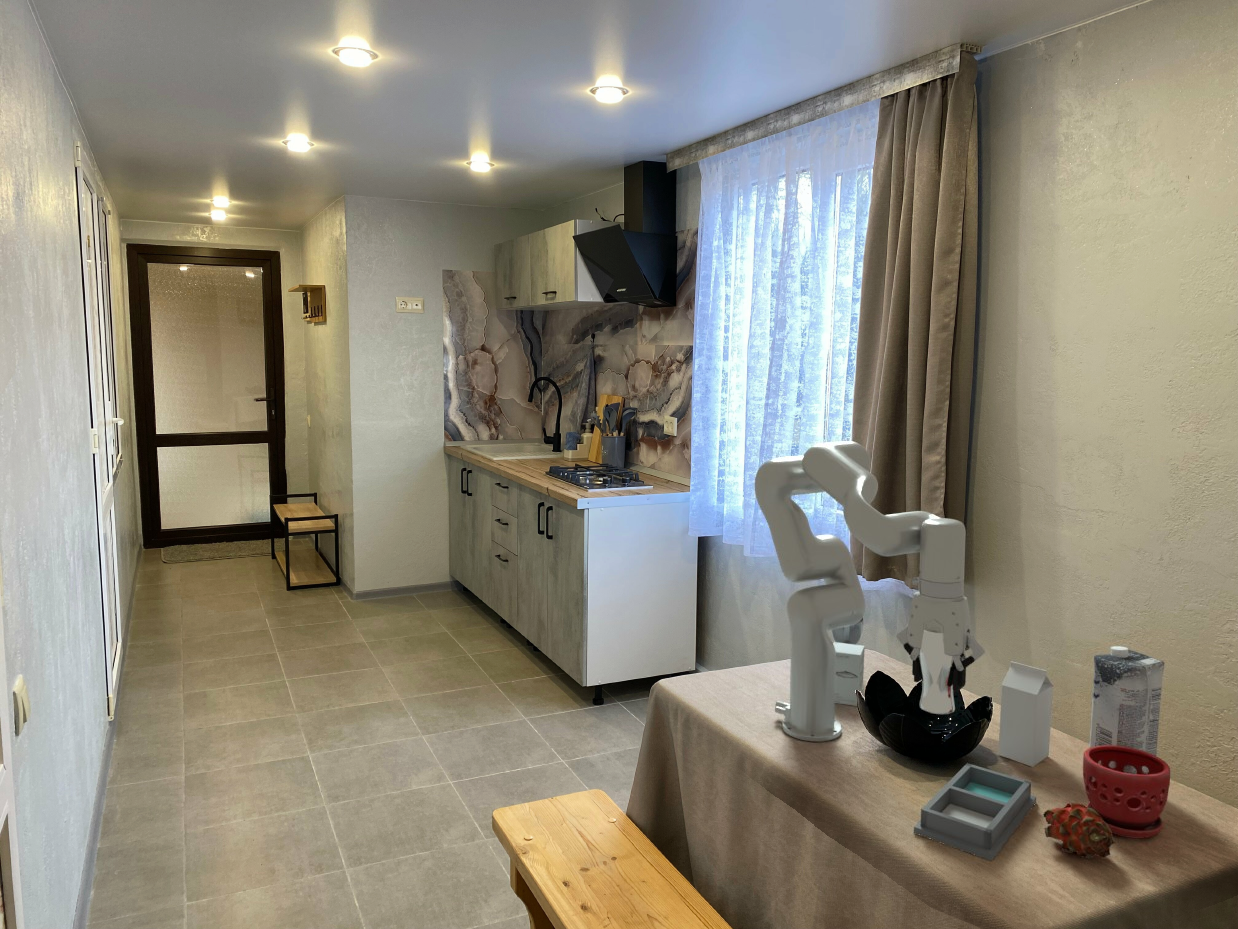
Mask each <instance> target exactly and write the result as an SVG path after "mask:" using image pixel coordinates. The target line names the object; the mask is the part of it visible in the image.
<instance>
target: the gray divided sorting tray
mask: <svg viewBox="0 0 1238 929" xmlns="http://www.w3.org/2000/svg"><path fill="white" fill-rule="evenodd" d="M1035 803H1036V804H1037V796H1035V795H1033V794H1032V781H1029V780H1026V779H1023V778H1020V777H1015V776H1012V775H1009V774H1006V773H1002V772H998V771H996V770H992V769H989V768H986V767H981V766H979V765H976V764H972V763H968V762H967V763H965V765H964V766H962V768H961V769H960V770H959V771H958V772H957V773H956V774H955V775H954V776H953V777H951V779H950V780H949V781H947V783H946V784H944V786H942V787H941V789H940V790H939V791H937V793H936V794H935V795H934V796H933V797H932V798H930V800H929V801H928V802H927V803H926V804H925V805H924V806H922V808H921V809H920V820H919V821H917V823H916V824H915V825H913V834H914V833H916V834H915V835H917V834H920V835H922V836H921V837H923V836H925V837H927V838H926V839H928V838H931V839H933V840H932V841H934V840H935V841H934V842H937V841H938V842H937V843H939V842H941V843H940V844H942V843H944V844H943V845H945V844H946V845H945V846H948V845H949V846H948V847H951V846H952V848H953V847H954V849H956V848H957V850H959V849H960V851H962V850H963V852H965V853H968V854H970V853H972V854H971V855H973V854H975V855H974V856H976V855H977V857H979V858H983V859H984V860H986V861H987V860H988V861H990V862H993V860H994V859H995V857H997V855H998V854H999V852H1000V851H1002V849H1003V847H1004V846H1005V844H1006V843H1007V842H1008V841H1009V839H1010V838H1011V836H1012V835H1013V834H1014V833H1015V831H1016V830H1017V829H1018V827H1019V826H1020V825H1021V823H1023V821H1024V819H1025V818H1026V817H1027V816H1028V815H1029V813H1030V812H1029V811H1031V810H1032V809H1033V808H1034V806H1035V805H1036V804H1035ZM1034 804H1035V805H1034ZM1033 805H1034V806H1033ZM1032 807H1033V808H1032ZM1031 808H1032V809H1031ZM1028 812H1029V813H1028ZM1025 816H1026V817H1025ZM1022 820H1023V821H1022ZM1019 824H1020V825H1019ZM1016 828H1017V829H1016ZM920 835H919V836H920ZM925 837H924V838H925ZM931 839H930V840H931Z"/></svg>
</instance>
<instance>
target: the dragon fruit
mask: <svg viewBox="0 0 1238 929" xmlns="http://www.w3.org/2000/svg"><path fill="white" fill-rule="evenodd" d="M1043 818H1045V822H1046V823H1047V825H1048V826H1046V827H1044V834H1045V837H1046V838H1052V839H1056V840H1058V841H1059V840H1060V841H1061V842H1062V843H1061V850H1062V851H1063V852H1065V853H1066V854H1069V853H1070V854H1072V853H1073V852H1076V853H1077V855H1078V856H1079V857H1082V858H1085V859H1092V858H1093V857H1094V856H1097V857H1100V858H1105V857H1106V858H1107V857H1109V856H1111V851H1110V850H1111V849H1110V848H1111V846H1112V845H1114V844H1116V841H1115V840H1114V838H1113V837H1114V836H1113V833H1112V832H1111V829H1110V828H1109V826H1108V825H1107V824H1106V822H1104V821H1103V819H1102V817H1101V816H1100V815H1099V814H1098V813H1097V812H1096V811H1095V810H1093V809H1091V808H1087V805H1085V804H1082V803H1081V802H1080V803H1079V802H1074V801H1073V802H1070V803H1067V804H1066V805H1065V806H1064V807H1061V808H1060V807H1055V808H1052V809H1047V810H1045V811H1044V812H1043Z"/></svg>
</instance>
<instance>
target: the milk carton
mask: <svg viewBox="0 0 1238 929" xmlns="http://www.w3.org/2000/svg"><path fill="white" fill-rule="evenodd" d="M1009 666H1010V667H1009V669H1008V670H1007V673H1006V675H1005V677H1004V679H1003V681H1002V684H1001V692H1000V693H1001V694H1000V695H1001V696H1000V713H999V714H1000V715H999V716H1000V717H999V730H998V731H999V735H998V752H997V753H998V756H1001V757H1004V758H1007V759H1009V760H1013V761H1015V762H1017V763H1021V764H1024V765H1026V766H1029V767H1035V766H1036V765H1037V764H1039V763H1041V762H1042V761H1044V760H1045V759H1046V758H1048V757H1049V754H1050V742H1051V726H1052V723H1051V722H1052V709H1053V708H1052V707H1053V691H1054V688H1053V687H1054V685H1053V684H1052V682H1051V680H1050V679H1049V678H1048V676H1047V674H1048V673H1047V670H1046V669H1042V668H1038V667H1036V666H1035V667H1034V666H1030V665H1027V664H1023V663H1019V662H1015V661H1012V660H1011V661H1010V665H1009Z"/></svg>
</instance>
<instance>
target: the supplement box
mask: <svg viewBox="0 0 1238 929" xmlns="http://www.w3.org/2000/svg"><path fill="white" fill-rule="evenodd" d="M832 643H833V645H834V647H835V651H836V681H835V704H838V705H839V704H841V705H848V706H854V707H857V700H856V693H855V690H859V691H861V693H863V692H864V691H863V690H864V688H863V687H864V673H865V672H864V670H865V649H866V646H865V645H863V644H862V645H860V644H856V645H853V644H845V643H837V642H835V641H833V642H832ZM863 694H864V693H863Z"/></svg>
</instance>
